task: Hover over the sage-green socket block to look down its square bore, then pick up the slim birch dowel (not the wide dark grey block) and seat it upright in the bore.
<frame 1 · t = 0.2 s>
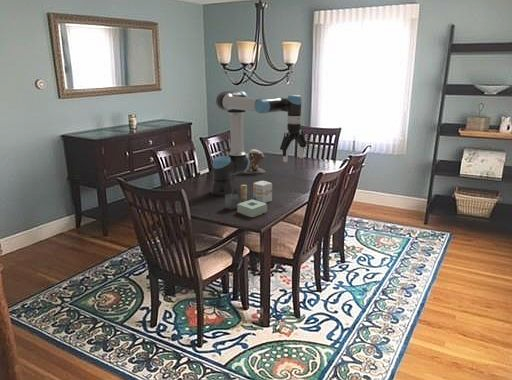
hand: (293, 159, 235), 28 cm above the table, fingers open, 13 cm apart
ink box: (262, 201, 251), on the table
dark grey block: (231, 207, 239), on the table
birch dowel: (244, 204, 244), on the table
socket block: (252, 212, 231), on the table
cherub figurine: (254, 171, 322), on the table
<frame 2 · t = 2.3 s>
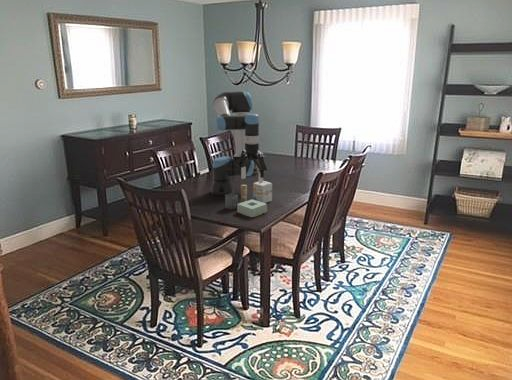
hand: (252, 180, 226), 19 cm above the table, fingers open, 13 cm apart
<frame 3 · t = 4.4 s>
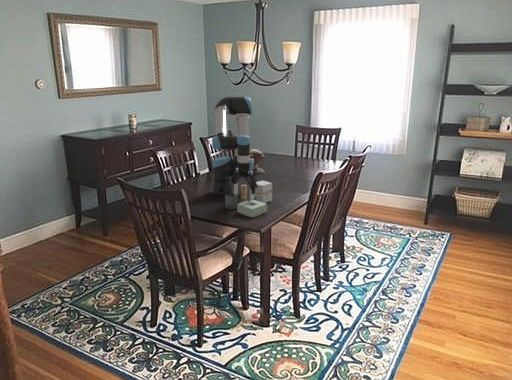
hand: (244, 196, 242), 5 cm above the table, fingers open, 13 cm apart
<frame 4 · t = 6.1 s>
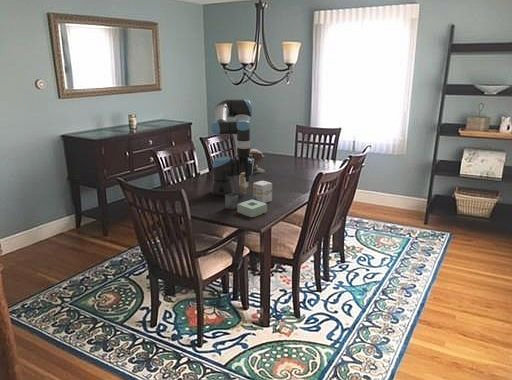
hand: (243, 186, 241), 12 cm above the table, fingers closed on birch dowel, 3 cm apart
birch dowel: (243, 192, 242), point 7 cm above the table, touching gripper
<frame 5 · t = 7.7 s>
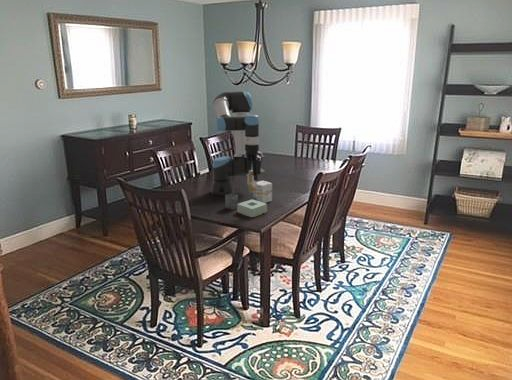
hand: (252, 185, 227), 16 cm above the table, fingers closed on birch dowel, 3 cm apart
birch dowel: (251, 191, 228), point 12 cm above the table, touching gripper
when the fingers open (6 cm above the table, at t = 9.6 s): birch dowel drops 3 cm, resting in socket block.
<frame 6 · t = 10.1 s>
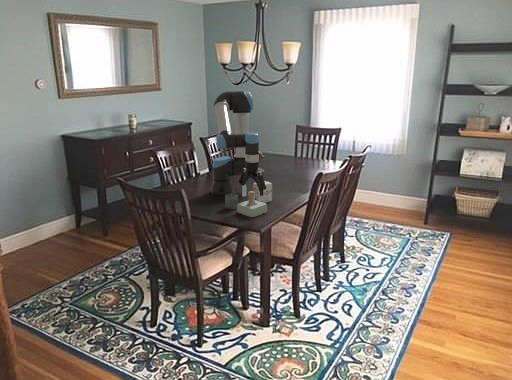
hand: (252, 198, 229), 8 cm above the table, fingers open, 12 cm apart
birch dowel: (251, 212, 231), resting in socket block
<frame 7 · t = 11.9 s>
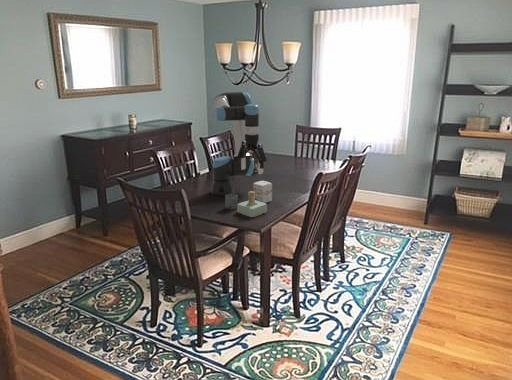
hand: (251, 171, 226), 23 cm above the table, fingers open, 13 cm apart
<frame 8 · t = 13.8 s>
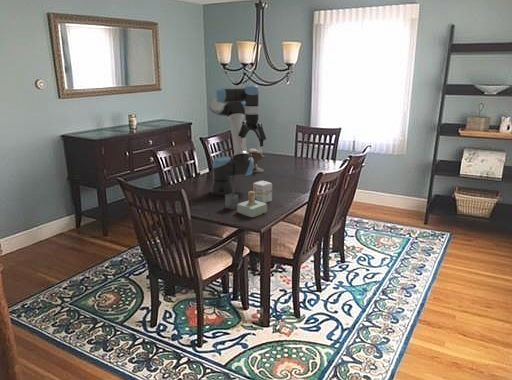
hand: (252, 150, 237), 33 cm above the table, fingers open, 13 cm apart
at the end: birch dowel 0.4 cm off-centre on the socket block, point 0.0 cm above the socket block's base; birch dowel tilted 0°; the gripper is holding nothing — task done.
